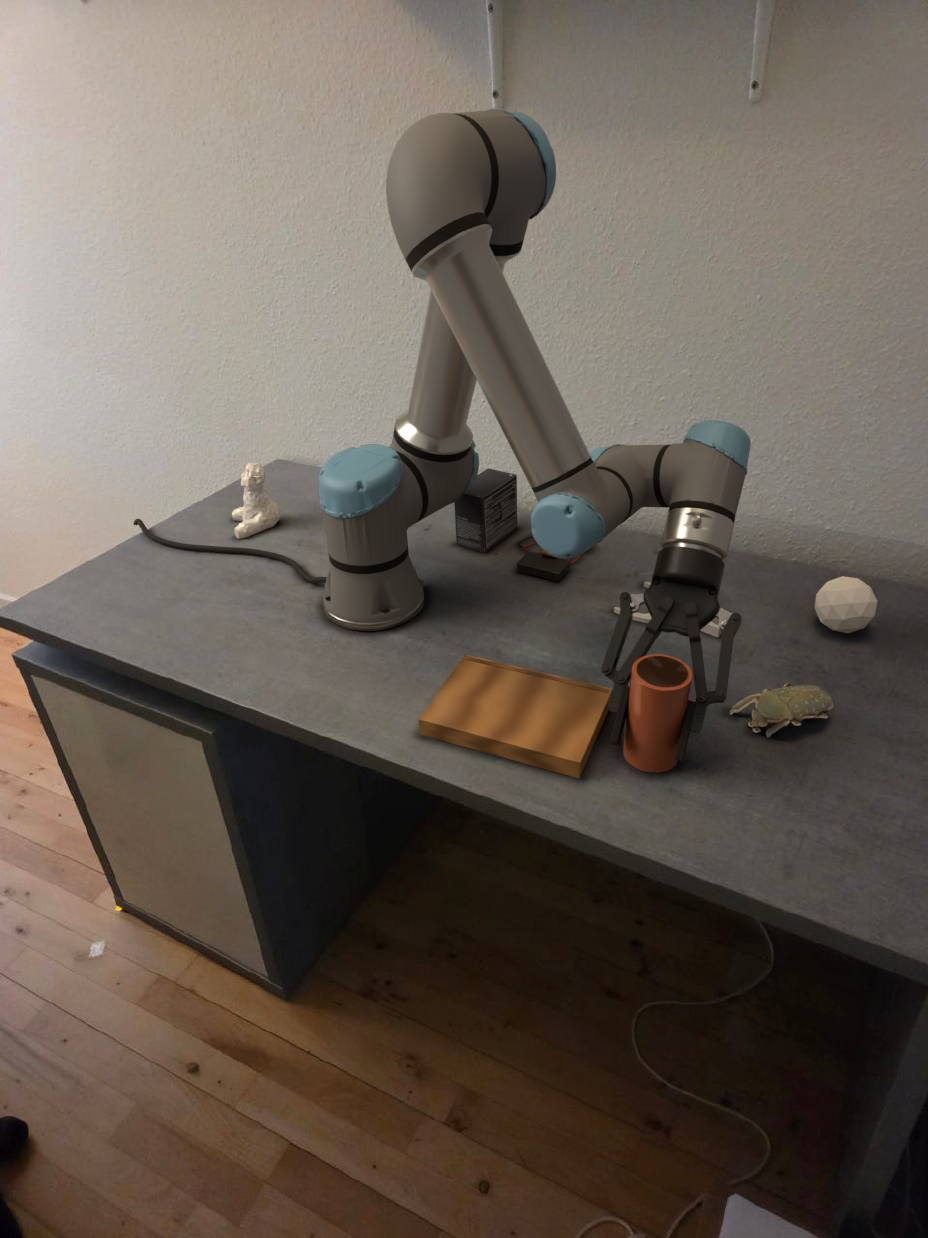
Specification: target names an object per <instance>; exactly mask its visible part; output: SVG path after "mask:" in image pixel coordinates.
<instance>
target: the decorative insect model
mask: <svg viewBox="0 0 928 1238" xmlns="http://www.w3.org/2000/svg"><path fill="white" fill-rule="evenodd" d="M752 703H755V704H754V705H755V706H754V707H755V708H752V709H751V721H749V722H747V725H748V727H749V728H752V732H753V733H755V734H756V733H761V732H762V729H761V728H765V727H767V726H768V724H769V723H770V724H774V725H773V726H772V727H770V728H768V729H766V731H765V732H766V733H765V737H767V738H770V737H771V736H772V735H773V734H774V733H776V732H777V731H779V730H780V729H781V728H783V727H787V726H788V725H789V724H790V723H791V724H792V725H793V726H797V727H800V726H801V725H802V722H801V721H803V720H805V719H819V718H820V719H828V718H829V716H828V714H827V713H825V711H831V710H832V709H833V708H834V707H835V706H834V702H833V700H832V697H831V696H829V694H828V693H827V692H826V691H825V690H823V689H821V687H820V686H818V685H813V684H805V685H794V684H792V683H790V682H785V683H784V685H783V686H782V687H776V688H775V687H774V688H772V689H770V688H764V689H762V692H761V693H760V692H757V693H755V694H751V695H748V696H746V697H744V698H743V699H742V700H740V701H738V702H737V703H736V704H734V705H733V706H732V707H731V709H730V710H729V711H728V712H729V715H730V716H731V715H734V714H735V713H736V714H737V713H739V712H742V711H743V710H744V709H745V708H747V707H748V706H749V705H751V704H752ZM759 727H761V728H759Z"/></svg>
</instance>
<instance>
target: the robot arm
mask: <svg viewBox="0 0 928 1238" xmlns="http://www.w3.org/2000/svg"><path fill="white" fill-rule="evenodd" d="M385 179H386V181H385V193H386V194H385V195H386V204H387V205H386V207H387V210H388V216H389V219H390V224H391V227H392V230H393V233H394V237H395V239H396V243H397V245H398V247H399V249H400V252H401V254H402V256H403V258H404V260H405V263H406V264H407V266H408V268H409V270H410V272H411V274H412V276H413V277H414V278H417V279H420V280H423V281H425V282H426V283H427V285H428V286H429V288H430V289H429V294H428V298H427V305H426V310H425V315H424V320H423V327H422V332H421V338H420V344H419V349H418V354H417V359H416V365H415V371H414V376H413V382H412V388H411V392H410V398H409V403H408V409H407V410H405V411H404V412H401V413H400V414H399V415H398V416H397V418H396V419H395V422H394V429H393V432H392V433H393V434H392V439H391V444H390V445H389V446H387V445H384V444H376V443H369V444H361V445H359V446H357V447H355V446H351V447H348V448H345V449H342V450H341V451H339V452H337V453H335V454H334V455H332V456H330V457H329V458H328V459H327V460H326V461H325V462H324V463H323V465H322V466H321V468H320V471H319V474H318V487H319V490H318V491H319V492H318V499H319V500H318V501H319V504H320V509H321V514H322V520H323V526H324V532H325V539H326V540H325V541H326V547H327V553H328V561H329V565H328V570H327V575H326V576H311V575H309V574H307V573H306V572H305V571H304V569H303V568H302V567H301V565H300V564H299V563H297V562H296V561H295V560H294V559H292V558H289V557H288V556H285V555H282V554H279V553H277V552H272V551H267V550H263V549H256V548H248V547H236V546H235V547H234V546H233V547H232V546H218V545H205V544H190V543H183V542H177V541H173V540H169V539H165V538H162V537H159V536H157V535H155V534H153V533H152V532H151V531H150V530H149V529H148V527H146V525H145V523H144V521H143V520H142V519H140V518H136V519H134V521H133V525H134V526H139V528H140V530H141V532H142V533H143V534H144V535H145V536H146V537H147V538H149V539H150V540H152V541H155V542H156V543H159V544H162V545H163V546H168V547H172V548H176V549H177V548H178V549H182V550H188V551H189V550H190V551H200V552H201V551H203V552H217V553H218V552H219V553H230V554H231V553H232V554H233V553H234V554H246V555H247V554H248V555H253V556H260V557H264V558H265V557H266V558H271V559H275V560H278V561H281V562H283V563H286V564H288V565H290V566H291V567H292V568H294V570H295V571H296V572H297V573H298V575H299V576H300V577H301V578H302V579H304V580H305V581H307V582H309V583H312V584H318V583H319V584H320V583H321V584H323V583H324V589H323V594H322V605H323V610H324V614H325V616H326V618H328V620H329V621H331V623H333V624H335V625H337V626H339V627H341V628H344V629H346V630H352V631H359V632H360V631H361V632H373V631H376V632H377V631H383V630H387V629H392V628H395V627H398V626H400V625H403V624H406V623H407V622H409V621H411V620H412V619H414V618H415V617H416V616H417V615H419V613H420V612H421V611H422V609H423V607H424V604H425V591H424V587H426V582H425V580H423V579H421V578H419V575H418V572H417V570H416V567H415V566H414V563H413V561H412V559H411V557H410V554H409V540H408V529H409V528H411V527H413V526H414V525H415V524H417V523H419V522H421V521H422V520H424V519H426V518H427V517H429V516H431V515H433V514H435V513H437V512H438V511H440V510H442V509H443V508H445V507H447V506H449V505H451V504H454V502H455V501H457V500H458V499H459V498H460V497H461V496H463V494H464V493H466V492H467V491H468V490H469V489H470V488H471V487H472V485H473V484H474V482H475V480H476V477H477V475H478V474H479V471H480V470H479V468H480V457H479V453H478V452H476V450H475V448H476V446H477V445H476V443H475V441H474V434H473V432H472V429H471V427H470V426H469V425H468V424H467V422H468V417H469V414H470V410H471V409H470V408H471V405H472V401H473V396H474V393H475V388H476V384H477V383H478V386H479V387H480V389H481V391H482V393H483V395H484V397H485V399H486V401H487V403H488V405H489V407H490V409H491V411H492V413H493V415H494V417H495V419H496V421H497V423H498V425H499V426H500V429H501V430H502V433H503V434H504V436H505V438H506V440H507V442H508V445H509V446H510V449H511V450H512V453H513V454H514V457H515V459H516V460H517V462H518V464H519V466H520V468H521V470H522V473H523V474H524V476H525V478H526V480H527V482H528V484H529V486H530V488H531V490H532V493H533V494H534V496H535V499H536V500H537V504H536V505H535V507H533V510H532V511H531V514H530V526H531V531H530V532H531V534H532V536H533V537H532V538H533V539H534V540H535V542H536V544H538V547H540V548H541V550H542V549H543V550H544V551H545V552H547V553H548V554H550V555H552V556H554V557H556V558H561V559H566V560H570V559H577V558H578V557H580V556H581V555H582V554H585V553H584V552H586V551H588V550H590V548H591V549H592V548H595V547H596V546H597V545H599V544H600V543H602V542H603V540H604V539H605V538H606V537H608V535H610V534H611V533H612V532H613V531H614V530H615V529H617V528H618V527H619V526H621V525H622V524H623V523H625V522H626V521H627V520H628V519H629V518H631V517H632V516H633V515H635V514H636V513H637V512H639V510H641V509H642V508H668V510H667V517H666V520H665V524H664V527H663V532H662V536H661V539H660V540H661V541H660V546H661V549H660V550H659V551H658V553H657V557H656V560H655V566H654V570H653V574H652V577H651V582H650V583H651V584H650V586H649V587H648V588H646V589H645V591H644V592H643V593H631V594H630V593H629V592H628V591H622V592H621V593H620V595H619V608H620V613H619V614H618V617H617V620H616V622H615V625H614V628H613V632H612V634H611V637H610V640H609V644H608V646H607V649H606V652H605V654H604V657H603V660H602V664H601V667H600V672H601V674H603V676H605V677H606V678H608V679H609V680H611V681H612V682H613V687H612V689H613V691H612V695H611V700H610V704H609V710H608V711H609V712H610V713H612V714H616V716H615V720H614V725H613V728H612V734H611V736H610V743H611V744H613V745H616V746H621V742H622V738H623V733H624V731H625V726H626V717H627V708H628V699H629V689H630V685H629V683H630V680H631V671H632V666H633V664H634V662H635V661H636V660H638V659H639V658H641V657H643V656H647V655H648V653H649V651H650V650H651V648H652V646H653V645H654V643H655V642H656V641H657V639H658V638H659V637H660V636H661V633H670V634H671V633H676V634H677V635H679V636H683V637H687V638H688V642H689V648H690V657H691V665H692V675H693V681H694V682H693V683H694V691H695V697H696V698H695V700H691V699H689V700H688V704H687V709H686V713H685V718H684V722H683V727H682V731H681V735H680V740H679V744H678V749H677V753H676V758H675V759H676V760H679V761H678V762H685V757H686V752H687V749H688V744H689V739H690V734H691V733H695V734H700V732H701V731H702V729H703V725H704V721H705V716H706V712H707V708H708V706H710V705H712V704H723V703H725V702H726V701H727V696H728V695H727V694H728V687H729V677H730V671H731V663H732V654H733V647H734V646H733V644H734V638H735V637H736V635H737V632H738V631H739V629H740V627H741V625H742V618H743V617H742V615H741V614H740V613H739V612H731V611H728V610H726V609H724V608H722V607H721V605H720V604H721V603H720V602H719V594H720V590H721V586H722V582H723V576H724V572H725V568H726V563H725V562H724V560H725V559H726V558H727V557H728V554H729V549H730V545H731V542H732V541H731V540H732V536H733V533H734V528H735V522H736V516H737V512H738V508H739V505H740V504H739V503H740V500H741V495H742V491H743V488H744V487H743V486H744V483H745V479H746V476H747V474H748V464H749V458H750V457H749V456H750V451H751V443H752V442H751V437H750V436H749V435H748V434H747V432H746V431H745V430H744V429H743V428H742V427H740V426H738V425H736V424H734V423H731V422H728V421H724V420H719V419H706V420H702V421H700V422H696V423H693V424H691V425H690V426H689V428H688V429H687V431H686V434H685V436H684V438H683V442H680V443H679V442H678V443H677V442H676V443H672V444H671V443H670V444H623V443H622V444H620V443H616V444H612V445H607V446H605V445H604V446H598V447H594V448H593V449H592V450H591V451H589V450H588V447H587V446H586V443H585V441H584V439H583V437H582V435H581V433H580V430H579V429H578V426H577V425H576V422H575V421H574V418H573V417H572V416H573V415H571V412H570V410H569V408H568V406H567V404H566V402H565V400H564V398H563V395H562V394H561V391H560V390H559V387H558V385H557V384H556V381H555V379H554V376H553V375H552V373H551V370H550V369H549V366H548V365H547V362H546V360H545V358H544V356H543V354H542V352H541V349H540V348H539V345H538V344H537V342H536V339H535V338H534V336H533V333H532V331H531V329H530V327H529V325H528V323H527V320H526V319H525V316H524V314H523V313H522V311H521V308H520V307H519V304H518V302H517V300H516V298H515V296H514V293H513V292H512V290H511V288H510V285H509V284H508V282H507V279H506V277H505V275H504V270H505V266H506V264H507V262H509V261H510V260H512V259H513V258H516V257H517V256H518V255H520V253H521V252H522V248H523V246H524V245H523V244H524V240H525V236H526V232H527V229H528V225H529V222H530V221H529V220H533V219H534V218H535V217H537V216H538V215H539V214H540V213H541V212H542V211H544V210H545V208H546V207H547V206H548V204H549V202H550V200H551V199H552V197H553V193H554V191H555V187H556V180H557V162H556V156H555V152H554V149H553V147H552V146H551V143H550V140H549V138H548V134H547V133H546V132H545V130H544V129H543V127H542V126H541V125H540V124H539V123H538V122H537V121H536V120H535V119H533V118H532V117H531V116H529V115H528V114H526V113H524V112H521V111H517V110H507V109H506V110H505V109H502V108H499V107H494V108H488V109H486V110H475V111H466V112H453V113H452V112H451V113H450V112H438V113H433V114H430V115H427V116H424V117H422V118H420V119H418V120H416V121H415V122H414V123H412V124H411V125H410V126H409V127H408V128H407V129H405V131H403V133H402V134H401V136H400V137H399V139H398V140H397V142H396V144H395V146H394V147H393V150H392V152H391V155H390V157H389V162H388V167H387V170H386V178H385ZM644 604H645V607H646V609H647V611H648V613H650V615H651V617H652V618H651V620H650V621H649V623H646V624H647V625H646V626H645V629H644V630H643V632H642V634H641V635H640V637H639V638H638V640H637V641H636V643H635V645H634V646H633V648H632V649H631V651H630V653H629V654H628V656H627V657H626V658H625V660H624V662H623V663H622V665H621V666H620V668H619V670H618V669H617V665H618V664H619V661H620V658H621V654H622V651H623V649H624V646H625V643H626V640H627V636H628V633H629V631H630V627H631V625H632V622H633V620H632V617H633V613H636V612H638V613H639V611H640V607H641V606H642V605H644ZM715 617H717V618H718V619H719V628H720V629H721V640H720V647H719V654H718V665H717V671H716V680H715V688H714V690H708V686H707V679H706V670H705V662H704V655H703V647H702V639H701V632H700V630H701V629H702V628H704V627H705V626H706V625H707V624H708V623H709V622H711V621H712V620H713V619H714V618H715Z"/></svg>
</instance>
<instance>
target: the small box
mask: <svg viewBox="0 0 928 1238" xmlns="http://www.w3.org/2000/svg"><path fill="white" fill-rule="evenodd" d="M453 504H454V521H455V541H456V545H457V546H461V547H464V548H466V549H470V550H473V551H476V552H479V553H482V554H486V553H487V552H489V551H490V550H492V549H493V548H494V547H496V546H497V545H498V544H499V543H501V542H503V541H504V540H505V539H506V538H508V537H509V536H510V535H512V534H513V533H515V532H516V531H517V530H518V529H519V527H518V526H519V525H518V475H517V474H516V473H511V472H507V471H502V470H497V469H493V468H489V467H488V468H486V469H485V470H483V471H482V472H480V473H478V474H477V477H476V480H475V482H474V484H473V485H472V487H471V488H470V489H469V490H468V491H467V492H466V493H464V494H463V496H461V497H460V498H459V499H458V500H457V501H455V502H453Z"/></svg>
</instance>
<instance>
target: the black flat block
mask: <svg viewBox="0 0 928 1238" xmlns="http://www.w3.org/2000/svg"><path fill="white" fill-rule="evenodd" d="M530 538H534V537H533V535H530V536H528V537H526V538H524V539H522V540H521V541H519V542H518V543H517V546H518V547H520V548H522V549H523V550H524V552H526V553H525V554H524V556H523V557H521V558H520V560H518V561H517V563H516V571H517V572H518V573H522V574H526V575H531V576H535V577H540V578H544V579H547V580H550V581H554V582H559V581H560V580H561V579H562V578H563V577H564V576H565V575H566V574H567V572H568V571H570V569H571V564H572V563H574V562H576V561H577V560H579V558H580V556H578V557H576V558H575V559H574V560H572V561H570V559H561V558H557V557H554V556H552V555H550V554H548V553H547V552H545V551H544V550H543V549H542V548H541V553H539V552H536V551H531V550H530V551H528V550H527V549H526V547H527V546H531V545H534V544H537V542H536V541H535V542H532V543H528V544H526V545H524V546H522V545H519V544H521V543H522V542H524V541H525V540H529V539H530ZM591 550H592V548H590V549H588V550H587V551H585V552H584V553H583V554H585V553H588V552H590V551H591Z"/></svg>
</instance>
